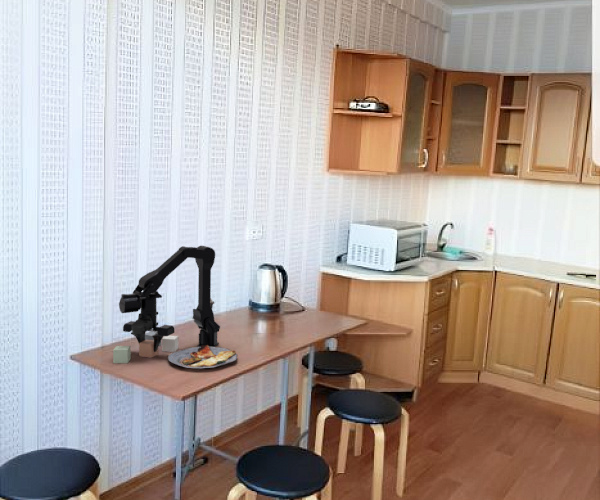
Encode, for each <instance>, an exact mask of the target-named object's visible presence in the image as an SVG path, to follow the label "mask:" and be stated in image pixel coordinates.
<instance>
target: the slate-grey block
mask: <svg viewBox="0 0 600 500" xmlns="http://www.w3.org/2000/svg"><path fill="white" fill-rule="evenodd" d="M153 335H155V332H153V331H147V332H146V333H145V340H154V338H153V337H152V336H153ZM158 347H162V341H161V342H160V344H159V346H158Z"/></svg>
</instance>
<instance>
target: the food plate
mask: <svg viewBox="0 0 600 500" xmlns="http://www.w3.org/2000/svg"><path fill="white" fill-rule="evenodd" d="M186 358H187V359H186ZM167 359H168V361H169V362H171V363H172V364H175V365H176V366H180V367H183V368H188V369H189V368H190V369H194V370H202V369H209V368H210V369H211V368H218V367H220V366H224V365H227V364H230V363H232V362H235V361H237V360H238V354H237V351H236V350H231V349H228V348H226V347H220V346H215V347H211V346H209V345H207V346H205V345H203V346H195V347H189V348H183V349H181V350H176V351H175V352H171V353H170V354H169V355H168V356H167ZM181 361H182V362H181Z"/></svg>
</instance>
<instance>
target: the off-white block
mask: <svg viewBox="0 0 600 500" xmlns="http://www.w3.org/2000/svg"><path fill="white" fill-rule="evenodd" d="M178 349H179V335H169V336H163V338H162V340H161V352H166V353H167V352H171V353H174V352H177V351H178Z"/></svg>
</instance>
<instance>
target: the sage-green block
mask: <svg viewBox="0 0 600 500" xmlns="http://www.w3.org/2000/svg"><path fill="white" fill-rule="evenodd" d="M112 354H113V355H112V358H113V359H112V361H113V362H112V363H113V364H128V363H129V362H130V360H131V346H130V345H116V346H115V347H114V348H113V350H112Z"/></svg>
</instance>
